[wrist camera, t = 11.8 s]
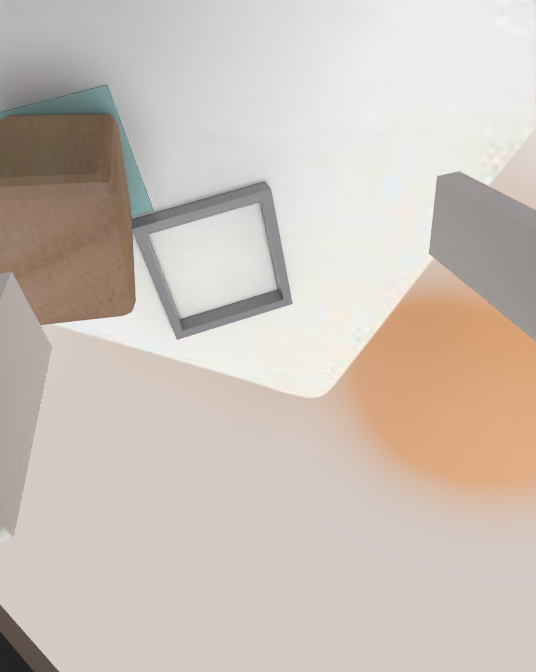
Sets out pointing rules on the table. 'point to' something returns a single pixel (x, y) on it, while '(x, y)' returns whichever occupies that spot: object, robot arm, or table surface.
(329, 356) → the table surface
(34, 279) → the wooden block
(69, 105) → the board
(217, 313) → the gray square frame
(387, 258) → the table surface
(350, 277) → the table surface
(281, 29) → the table surface
